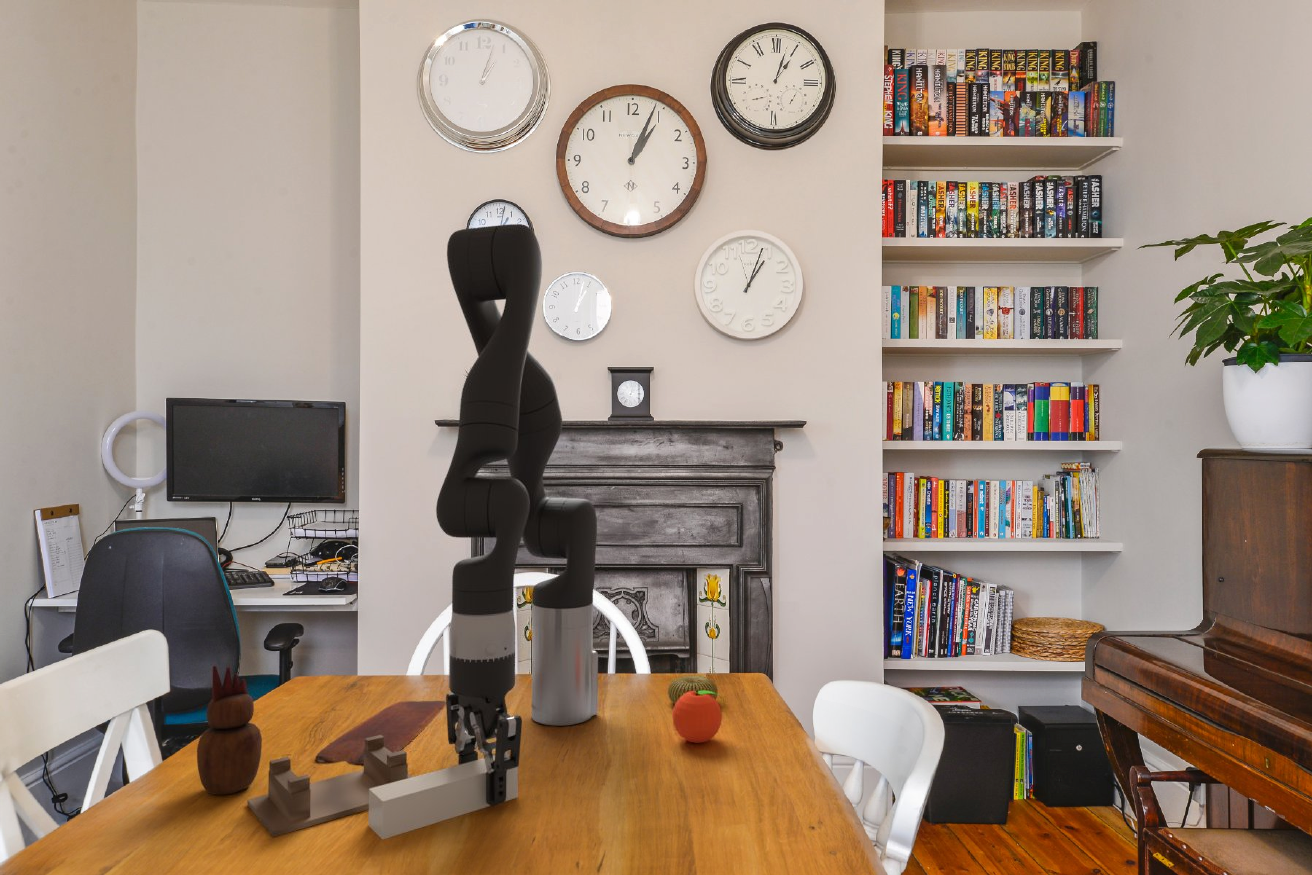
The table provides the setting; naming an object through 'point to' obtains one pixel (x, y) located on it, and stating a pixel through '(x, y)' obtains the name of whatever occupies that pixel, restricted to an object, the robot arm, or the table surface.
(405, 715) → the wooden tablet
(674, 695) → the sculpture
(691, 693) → the clementine
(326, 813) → the rack
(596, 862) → the table surface
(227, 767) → the wooden figurine
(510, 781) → the white rectangular block
